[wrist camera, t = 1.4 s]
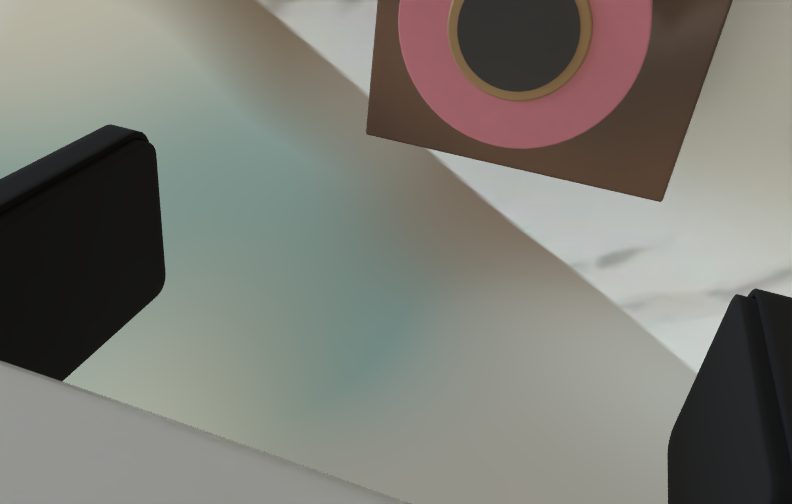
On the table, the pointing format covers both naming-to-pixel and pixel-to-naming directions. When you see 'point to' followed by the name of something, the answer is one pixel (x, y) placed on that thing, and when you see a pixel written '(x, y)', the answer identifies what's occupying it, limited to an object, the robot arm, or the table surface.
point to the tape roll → (524, 63)
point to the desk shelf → (597, 147)
